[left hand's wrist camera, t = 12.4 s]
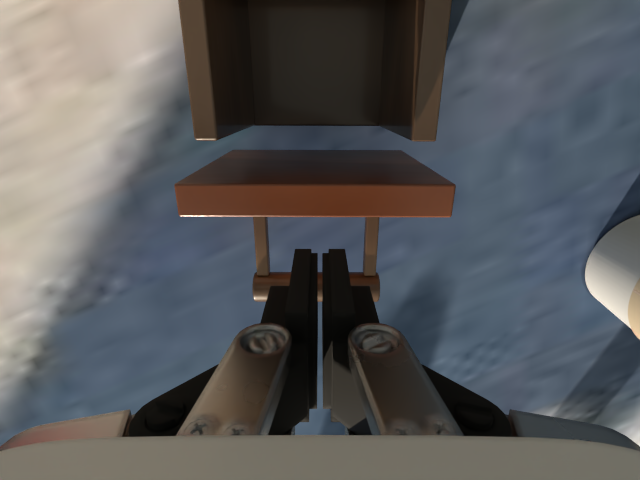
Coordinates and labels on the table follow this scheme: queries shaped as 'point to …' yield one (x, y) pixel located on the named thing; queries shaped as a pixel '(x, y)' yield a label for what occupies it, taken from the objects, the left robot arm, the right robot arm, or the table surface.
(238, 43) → the drawer
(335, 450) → the left robot arm
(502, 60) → the table surface
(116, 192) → the table surface
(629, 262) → the coffee cup
